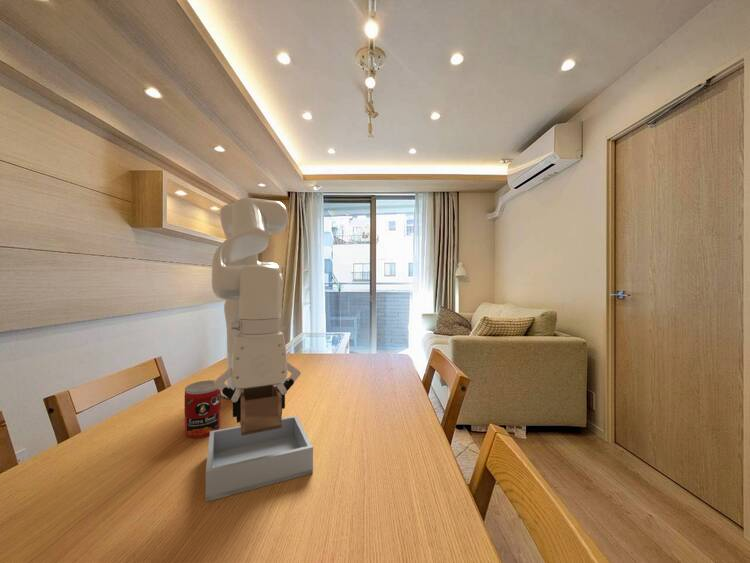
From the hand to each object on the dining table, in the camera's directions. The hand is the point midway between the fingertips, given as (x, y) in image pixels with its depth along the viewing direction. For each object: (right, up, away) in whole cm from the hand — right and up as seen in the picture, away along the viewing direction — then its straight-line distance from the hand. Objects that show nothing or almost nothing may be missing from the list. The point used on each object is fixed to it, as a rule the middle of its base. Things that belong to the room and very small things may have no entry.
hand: (259, 415), depth 61 cm
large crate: (0, -10, 0) cm, 10 cm away
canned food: (-19, -10, +13) cm, 25 cm away
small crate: (0, -1, 0) cm, 1 cm away
